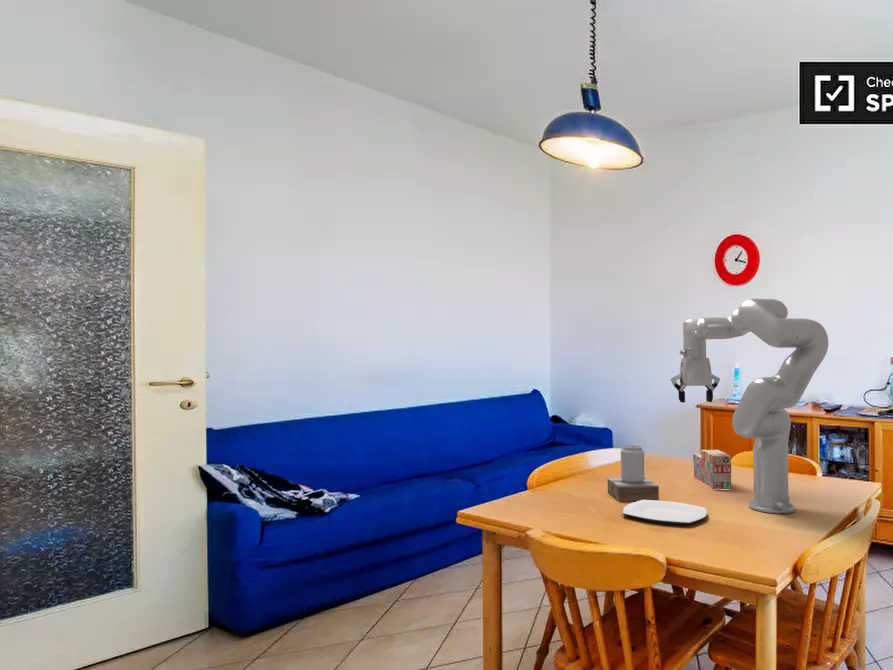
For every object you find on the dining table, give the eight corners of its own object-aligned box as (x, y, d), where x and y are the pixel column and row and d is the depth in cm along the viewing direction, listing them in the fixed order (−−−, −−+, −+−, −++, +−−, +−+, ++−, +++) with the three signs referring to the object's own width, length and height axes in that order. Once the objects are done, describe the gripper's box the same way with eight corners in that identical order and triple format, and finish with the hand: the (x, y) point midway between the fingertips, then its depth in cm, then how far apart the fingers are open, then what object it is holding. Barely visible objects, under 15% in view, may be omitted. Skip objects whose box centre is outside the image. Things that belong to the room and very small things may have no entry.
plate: (638, 503, 202) (638, 497, 202) (714, 513, 189) (714, 506, 189) (613, 520, 184) (613, 513, 184) (695, 532, 170) (695, 525, 170)
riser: (658, 501, 203) (658, 485, 204) (619, 501, 203) (618, 486, 203) (645, 491, 216) (644, 477, 217) (607, 492, 216) (607, 478, 216)
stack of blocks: (693, 478, 239) (692, 445, 239) (710, 478, 238) (709, 445, 239) (713, 490, 217) (712, 455, 218) (732, 490, 217) (731, 455, 217)
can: (618, 479, 214) (618, 444, 214) (641, 479, 213) (640, 444, 214) (624, 484, 206) (623, 447, 206) (647, 484, 206) (646, 447, 206)
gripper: (674, 354, 219) (675, 403, 219) (723, 353, 219) (724, 402, 219) (666, 354, 226) (667, 401, 226) (714, 353, 227) (715, 400, 227)
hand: (695, 401), depth 223 cm, fingers open, 9 cm apart
